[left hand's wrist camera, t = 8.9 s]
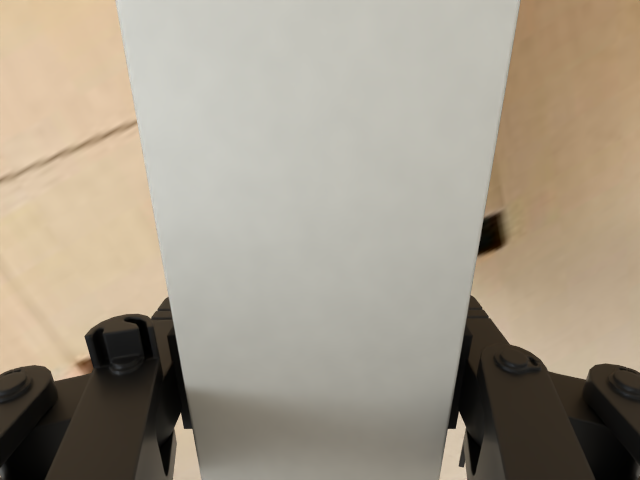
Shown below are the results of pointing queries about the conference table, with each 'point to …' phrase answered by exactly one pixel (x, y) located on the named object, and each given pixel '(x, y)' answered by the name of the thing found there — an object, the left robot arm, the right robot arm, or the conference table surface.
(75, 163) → the conference table surface
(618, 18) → the conference table surface
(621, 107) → the conference table surface
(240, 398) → the bar
